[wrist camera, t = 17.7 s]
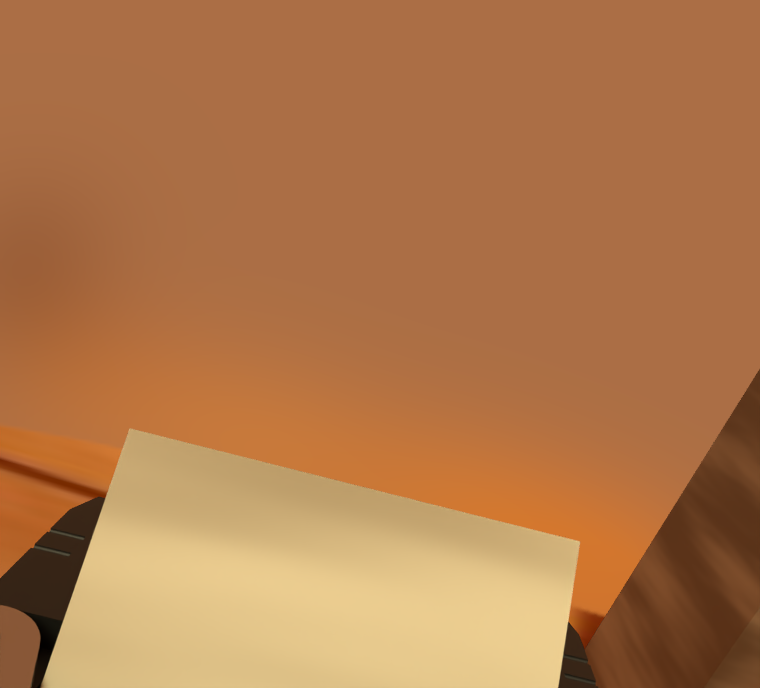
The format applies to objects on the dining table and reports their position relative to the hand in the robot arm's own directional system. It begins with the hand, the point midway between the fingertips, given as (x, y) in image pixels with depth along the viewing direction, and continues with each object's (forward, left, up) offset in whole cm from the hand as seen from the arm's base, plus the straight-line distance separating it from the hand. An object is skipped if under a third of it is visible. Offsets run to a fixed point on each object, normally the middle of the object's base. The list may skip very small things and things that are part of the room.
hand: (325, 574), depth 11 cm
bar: (+4, -3, -7) cm, 9 cm away
